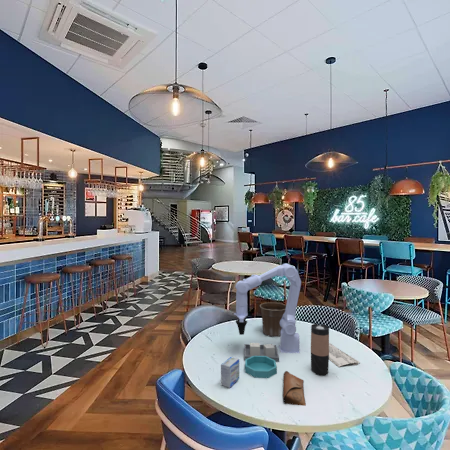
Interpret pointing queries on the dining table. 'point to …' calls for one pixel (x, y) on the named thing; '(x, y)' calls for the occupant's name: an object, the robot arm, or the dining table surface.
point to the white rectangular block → (254, 349)
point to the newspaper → (340, 357)
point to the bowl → (260, 366)
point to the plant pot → (272, 318)
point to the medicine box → (230, 372)
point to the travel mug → (319, 349)
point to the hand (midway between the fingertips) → (241, 331)
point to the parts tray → (247, 352)
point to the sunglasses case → (293, 390)
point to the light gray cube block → (269, 350)
